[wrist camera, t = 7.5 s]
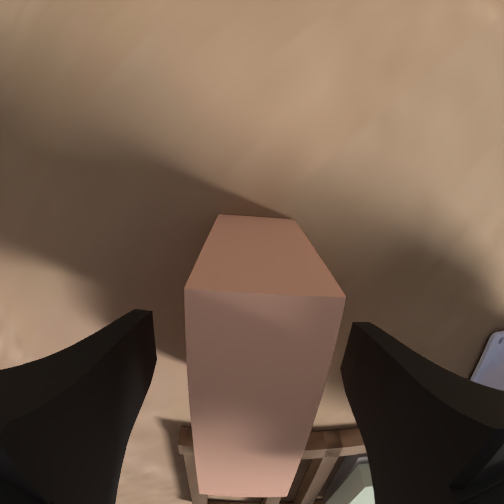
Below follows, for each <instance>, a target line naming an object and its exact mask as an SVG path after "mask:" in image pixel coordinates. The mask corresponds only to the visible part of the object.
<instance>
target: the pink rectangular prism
mask: <svg viewBox="0 0 504 504" xmlns="http://www.w3.org/2000/svg"><path fill="white" fill-rule="evenodd" d="M345 302H346V296H345V294H344V293H343V291H342V289H341V288H340V286H339V285H338V283H337V282H336V280H335V279H334V277H333V276H332V274H331V273H330V271H329V270H328V268H327V267H326V265H325V264H324V262H323V261H322V259H321V258H320V256H319V255H318V253H317V252H316V250H315V249H314V247H313V246H312V244H311V243H310V241H309V240H308V238H307V237H306V235H305V234H304V232H303V231H302V230H301V228H300V227H299V225H298V224H297V222H296V221H295V220H294V219H281V218H268V217H253V216H238V215H222V214H219V215H218V217H217V219H216V221H215V223H214V225H213V227H212V229H211V231H210V233H209V235H208V238H207V240H206V242H205V244H204V246H203V248H202V250H201V252H200V255H199V257H198V259H197V261H196V263H195V265H194V268H193V270H192V272H191V274H190V276H189V279H188V281H187V283H186V285H185V287H184V309H185V338H186V358H187V375H188V390H189V403H190V415H191V426H192V436H193V446H194V455H195V464H196V472H197V480H198V487H199V494H206V495H218V496H234V497H287V495H288V492H289V490H290V487H291V485H292V482H293V480H294V477H295V474H296V472H297V469H298V466H299V464H300V461H301V458H302V455H303V453H304V450H305V447H306V444H307V441H308V438H309V435H310V432H311V429H312V426H313V423H314V420H315V417H316V413H317V410H318V407H319V404H320V400H321V397H322V394H323V390H324V387H325V383H326V380H327V376H328V372H329V369H330V365H331V361H332V357H333V353H334V349H335V345H336V341H337V337H338V333H339V329H340V325H341V320H342V316H343V311H344V307H345Z"/></svg>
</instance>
